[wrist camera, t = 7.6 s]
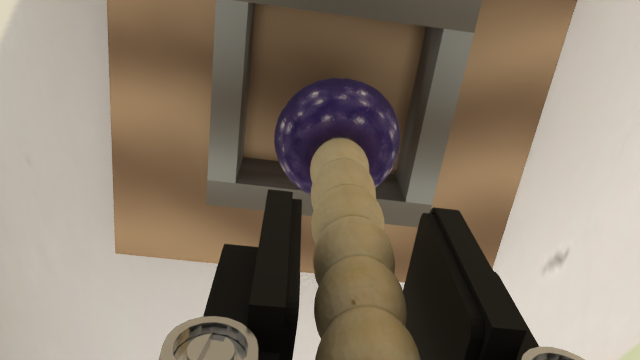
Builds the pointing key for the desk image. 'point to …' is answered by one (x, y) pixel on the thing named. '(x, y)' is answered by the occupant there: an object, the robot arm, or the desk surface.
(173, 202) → the socket board
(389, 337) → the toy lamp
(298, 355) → the desk surface
